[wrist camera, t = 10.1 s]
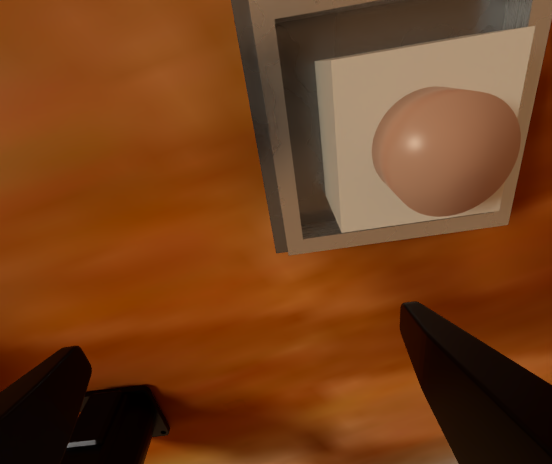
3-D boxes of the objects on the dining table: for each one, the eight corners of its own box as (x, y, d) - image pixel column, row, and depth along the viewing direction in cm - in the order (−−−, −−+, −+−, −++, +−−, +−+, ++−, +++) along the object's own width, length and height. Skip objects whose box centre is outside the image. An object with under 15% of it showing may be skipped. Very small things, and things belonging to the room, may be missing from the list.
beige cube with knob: (447, 177, 16) (538, 236, 10) (325, 195, 16) (353, 260, 11) (462, 36, 13) (597, 16, 8) (314, 61, 13) (344, 59, 8)
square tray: (468, 200, 20) (519, 235, 16) (275, 228, 20) (276, 268, 16) (504, -52, 14) (599, -98, 10) (235, -2, 15) (222, -26, 11)
